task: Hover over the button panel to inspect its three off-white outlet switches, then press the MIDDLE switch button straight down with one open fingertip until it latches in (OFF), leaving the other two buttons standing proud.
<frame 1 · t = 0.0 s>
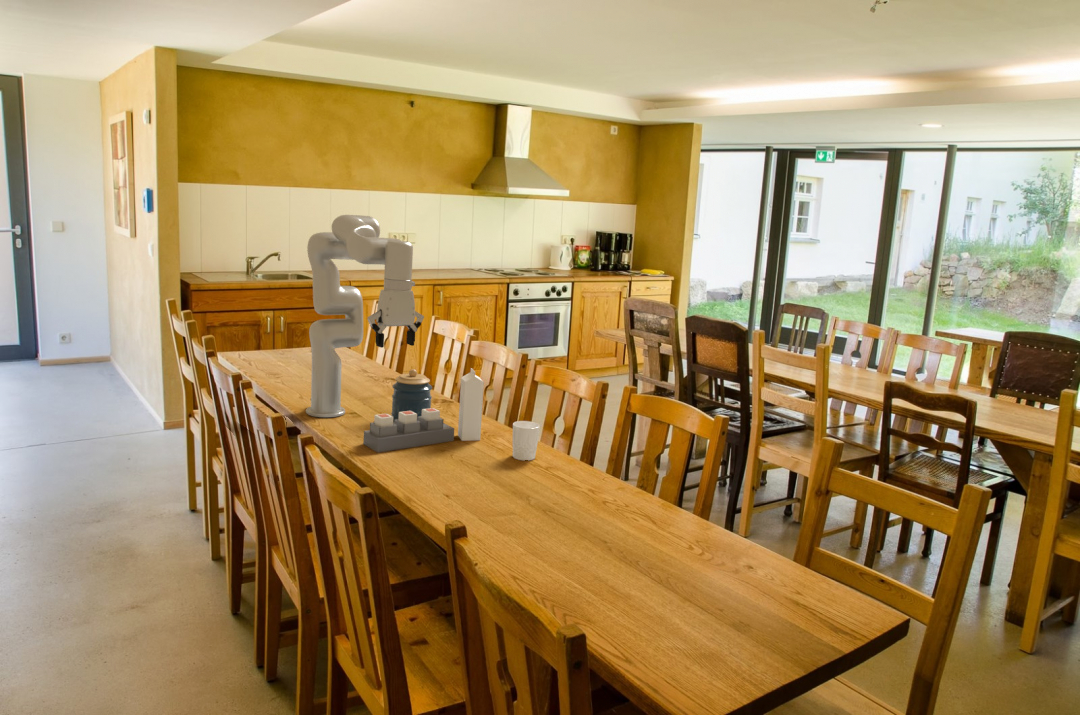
hand: (395, 345, 216), 31 cm above the table, fingers open, 9 cm apart
button 3: (430, 414, 235), point 8 cm above the table, slide at 0.0 cm
milk: (468, 438, 241), on the table
white cup: (523, 457, 226), on the table
button panel: (409, 442, 232), on the table
button 1: (383, 420, 224), point 8 cm above the table, slide at 0.0 cm
canister: (410, 421, 254), on the table
button 2: (407, 417, 230), point 8 cm above the table, slide at 0.0 cm
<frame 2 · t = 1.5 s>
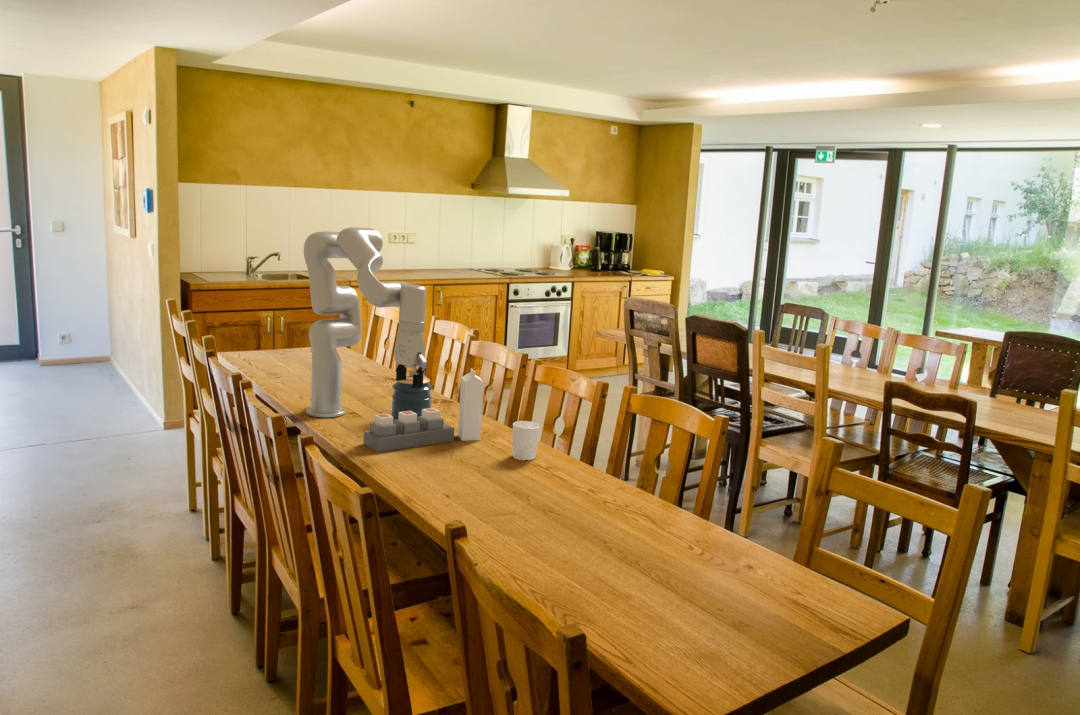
hand: (409, 383, 228), 18 cm above the table, fingers open, 9 cm apart
nothing on the table moved.
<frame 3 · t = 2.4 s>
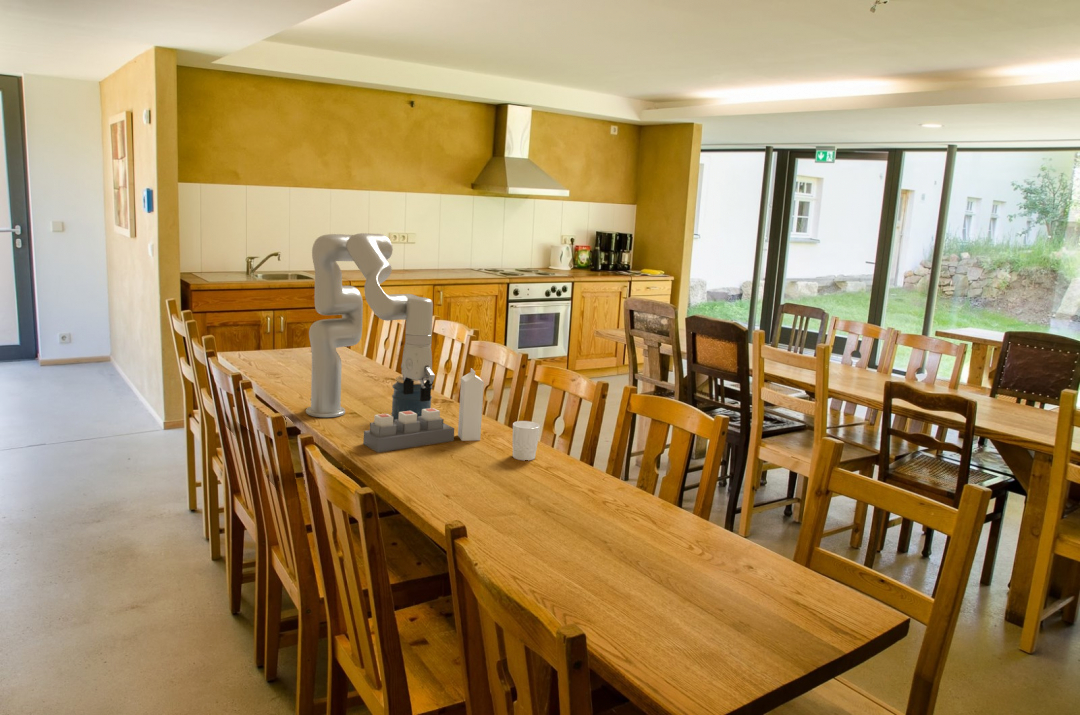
hand: (416, 397, 225), 15 cm above the table, fingers open, 9 cm apart
nothing on the table moved.
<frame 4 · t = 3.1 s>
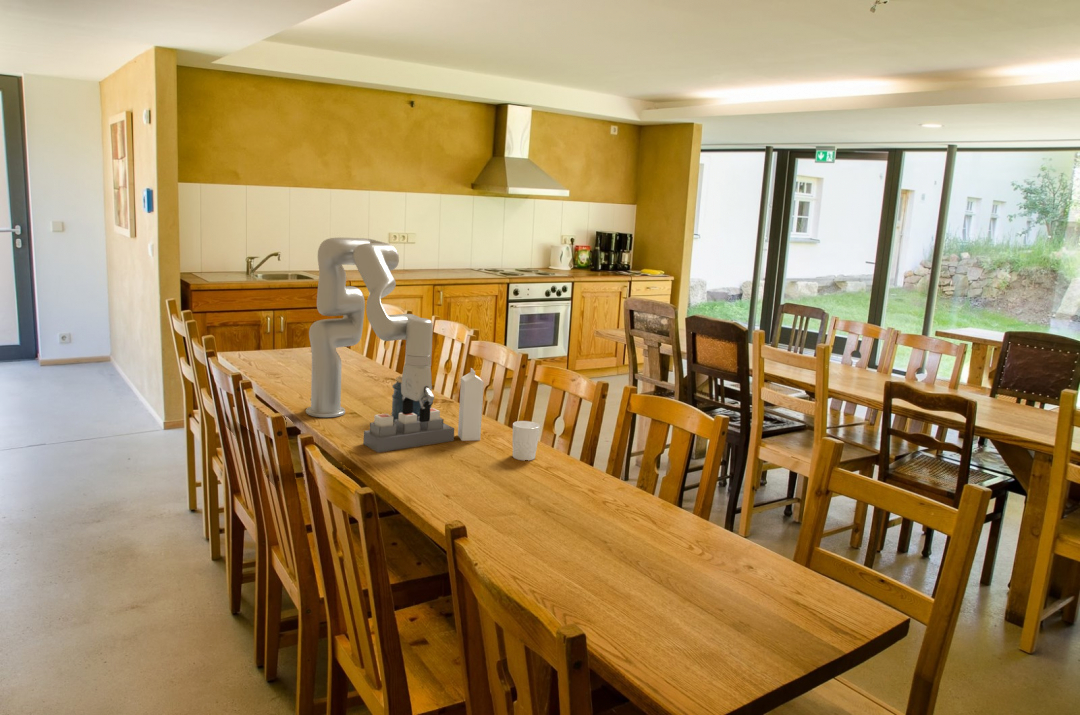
hand: (415, 417, 226), 9 cm above the table, fingers open, 9 cm apart
button 2: (407, 418, 230), point 8 cm above the table, slide at 0.3 cm, touching gripper
everything else where it was.
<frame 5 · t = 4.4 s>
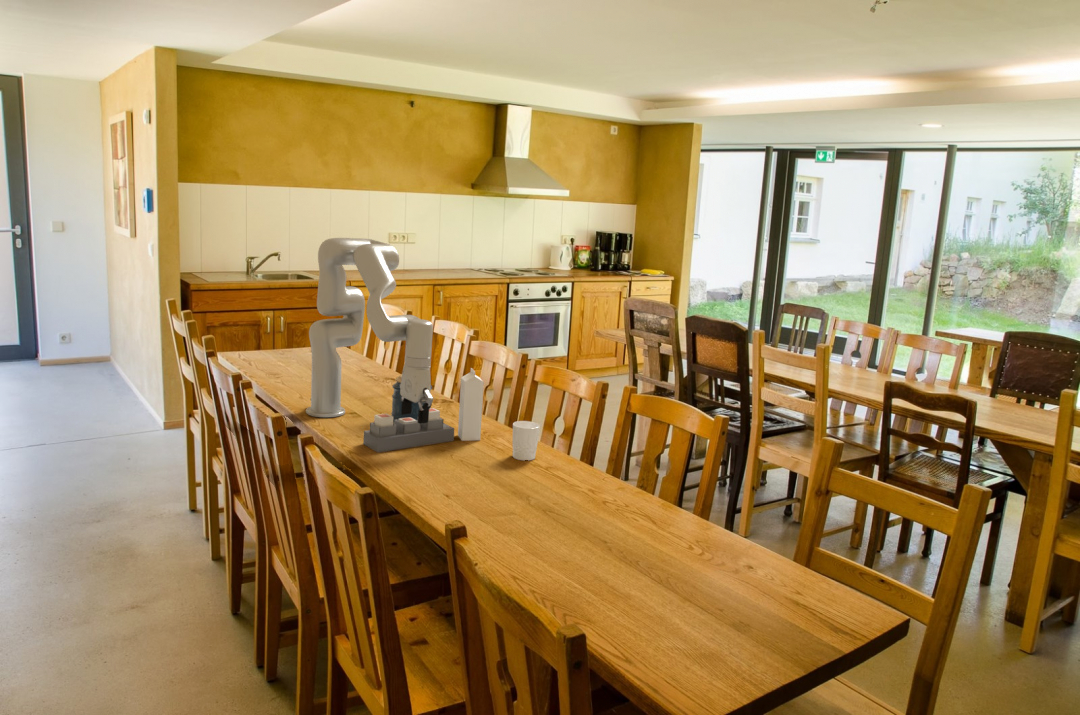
hand: (414, 418, 226), 9 cm above the table, fingers open, 9 cm apart
button 2: (407, 424, 230), point 6 cm above the table, slide at 2.1 cm
everything else where it was.
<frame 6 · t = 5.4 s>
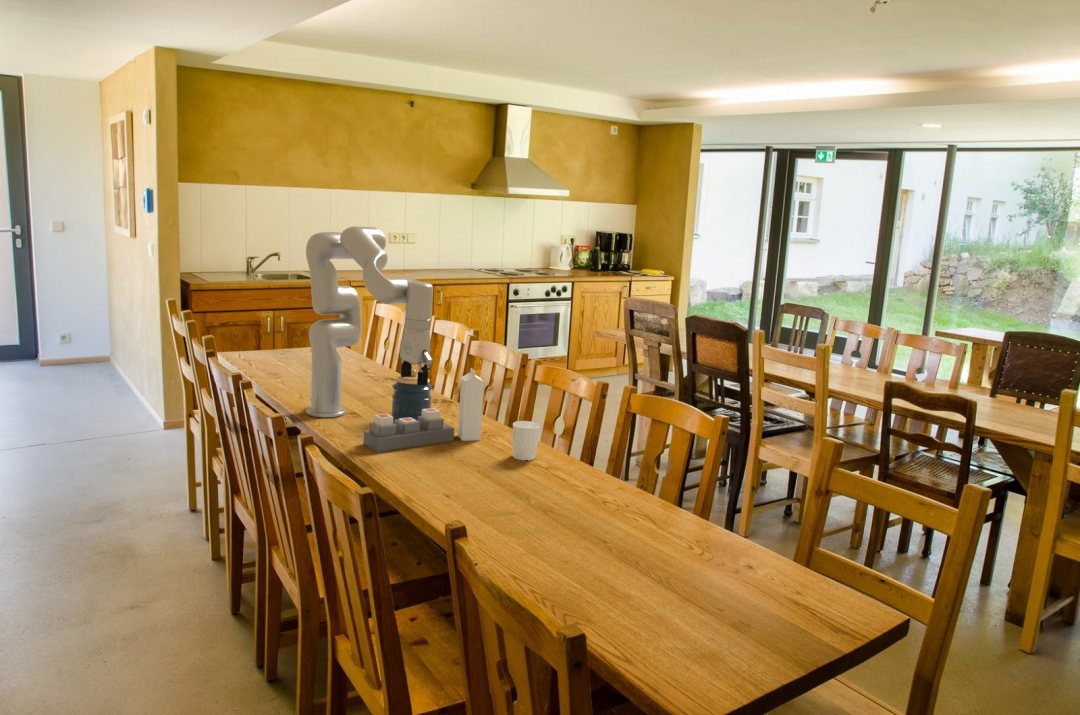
hand: (413, 380, 228), 19 cm above the table, fingers open, 9 cm apart
nothing on the table moved.
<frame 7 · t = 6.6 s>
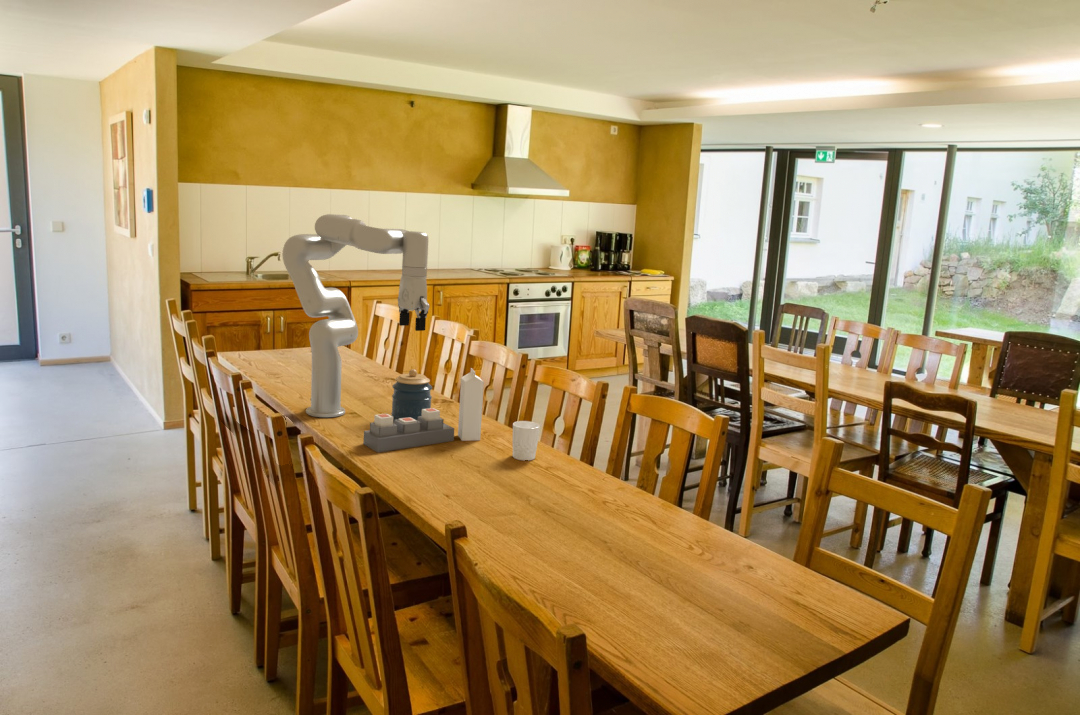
hand: (412, 327, 236), 33 cm above the table, fingers open, 9 cm apart
nothing on the table moved.
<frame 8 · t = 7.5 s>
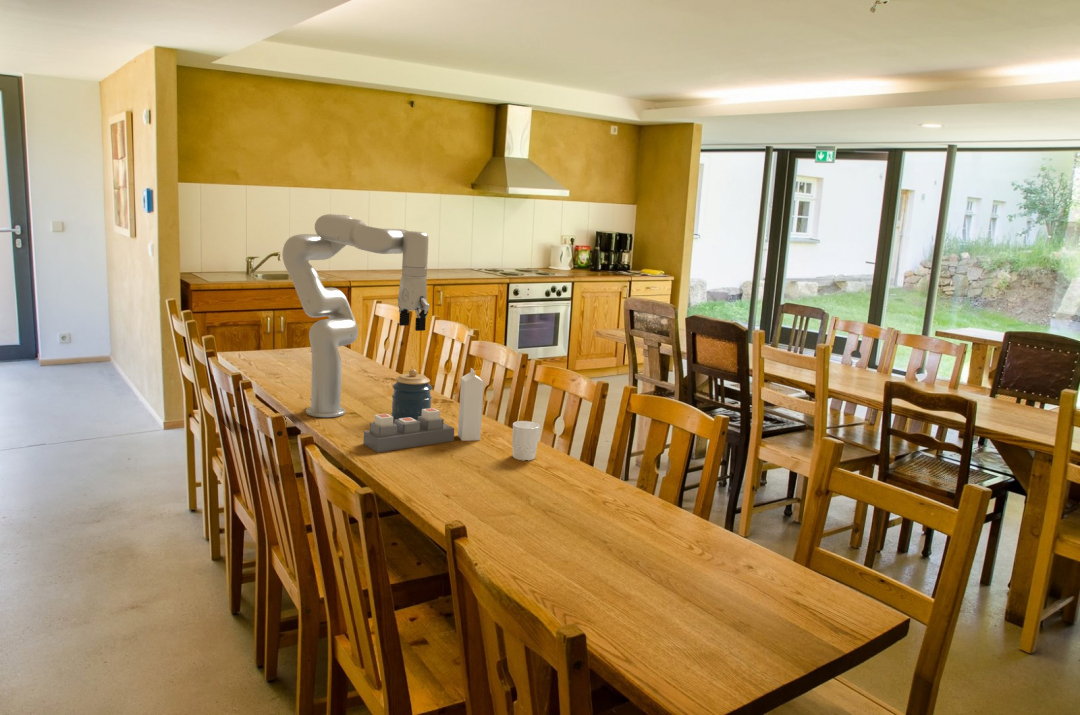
hand: (412, 327, 236), 33 cm above the table, fingers open, 9 cm apart
nothing on the table moved.
at the end: button 2 slide at 2.1 cm; button 1 slide at 0.0 cm; button 3 slide at 0.0 cm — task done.
